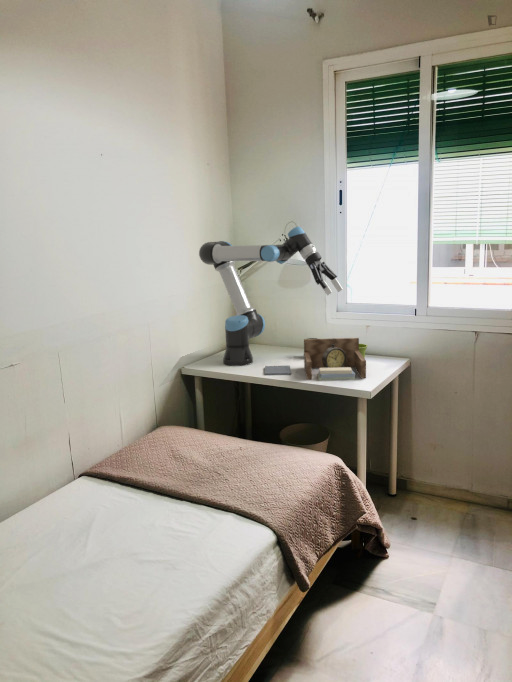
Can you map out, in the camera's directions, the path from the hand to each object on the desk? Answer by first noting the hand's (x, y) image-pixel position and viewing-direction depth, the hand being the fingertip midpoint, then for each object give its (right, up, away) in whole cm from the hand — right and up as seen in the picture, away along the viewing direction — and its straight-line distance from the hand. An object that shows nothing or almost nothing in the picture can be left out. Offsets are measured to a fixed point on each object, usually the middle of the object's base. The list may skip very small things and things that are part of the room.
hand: (335, 292), depth 251 cm
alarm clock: (-2, -38, -5) cm, 38 cm away
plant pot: (+13, -34, +12) cm, 38 cm away
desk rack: (-2, -38, -5) cm, 38 cm away
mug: (-7, -32, +24) cm, 41 cm away
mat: (-27, -37, +1) cm, 46 cm away
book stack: (-2, -40, -14) cm, 43 cm away
